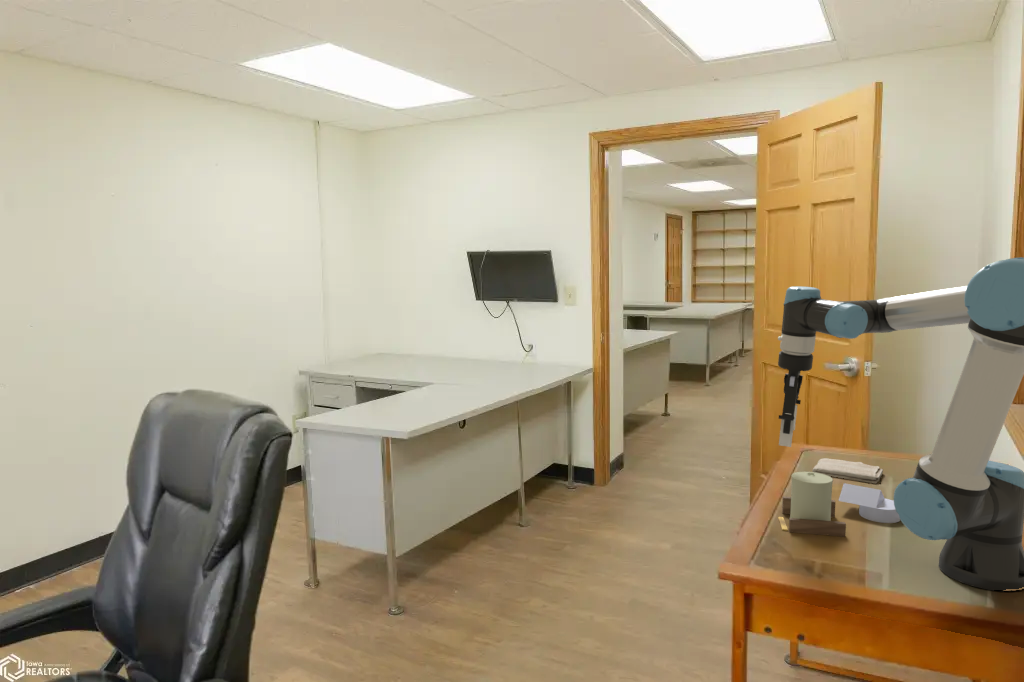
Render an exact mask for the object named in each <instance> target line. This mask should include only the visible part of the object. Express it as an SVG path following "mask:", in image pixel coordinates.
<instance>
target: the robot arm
mask: <svg viewBox="0 0 1024 682" xmlns="http://www.w3.org/2000/svg"><path fill="white" fill-rule="evenodd" d="M781 322H782V324H781V336H778V337H777V340H778V341H780V344H779V349H780V350H781V351H779V352H778V358H777V359H778V361H777V365H778V367H779V368H780V369H784V370H787V371H788V373H785V374H784V378H783V383H784V385H783V394H784V398H783V407H782V412H781V413H782V414H780V415H778V419H779V420H780V430H779V439H778V446H782V447H788V448H792V443H793V435H794V434H793V433H794V431H795V430H796V424H797V423H796V421H797V414H798V405H801V399H799V395H800V390H801V386H802V384H803V377H804V375H802V374H801V372H807V371H811V370H812V368H813V360H814V355H813V354H812V353H814V352H815V345H816V338H817V337H816V334H817V333H821V334H825V335H829V336H832V337H835V338H840V339H843V338H844V339H849V340H853V339H856V338H858V337H859V336H861V335H863V334H873V333H874V334H876V333H878V334H879V333H885V334H886V333H892V332H896V331H904V330H914V329H924V328H934V327H943V326H945V327H946V326H953V325H954V326H955V325H964V324H965V325H966V324H967V328H968V329H967V330H969V332H970V333H971V335H972V336H973V340H972V343H971V345H970V348H969V351H968V354H967V357H966V360H965V362H964V365H963V368H962V371H961V373H960V376H959V379H958V381H957V384H956V386H955V389H954V392H953V395H952V398H951V401H950V403H949V404H948V405H949V406H948V408H947V411H946V414H945V416H944V419H943V422H942V425H941V427H940V430H939V432H938V433H939V434H938V435H937V438H936V442H935V443H934V446H933V449H932V453H929V454H926V455H922V456H921V457H920V459H919V460H918V463H917V466H916V468H915V470H914V474H913V476H912V477H910V478H909V477H908V478H906V479H905V478H904V480H902V481H901V482H900V483H898V485H897V486H896V488H895V489H894V492H893V501H894V506H895V509H896V512H897V513H898V514H899V518H900V521H901V524H903V526H905V527H906V528H907V530H909V531H910V533H912V534H914V535H915V536H917V537H918V538H921V539H925V540H927V541H928V540H929V541H940V540H942V541H944V540H946V541H945V542H944V545H943V547H942V548H941V551H940V552H939V557H938V568H939V570H941V572H942V573H943V574H945V575H946V576H948V578H951V579H953V580H955V581H957V582H959V583H962V584H965V585H968V586H970V587H971V586H972V587H974V588H978V589H979V588H980V589H983V590H988V591H994V590H1006V589H1019V588H1022V587H1024V546H1023V533H1024V531H1023V530H1024V470H1022V469H1020V468H1018V467H1015V466H1013V465H1010V464H1006V463H1003V462H1000V461H999V462H998V461H993V460H990V458H991V457H992V453H993V451H994V448H995V446H996V445H997V444H996V443H997V442H998V438H999V436H1000V434H1001V432H1002V429H1003V426H1004V423H1005V421H1006V419H1007V417H1008V414H1009V412H1010V408H1011V407H1012V404H1013V402H1014V399H1015V397H1016V395H1017V392H1018V390H1019V387H1020V385H1021V382H1022V380H1023V377H1024V257H1022V256H1020V257H1011V258H1007V259H1001V260H997V261H994V262H991V263H988V264H987V265H985V266H983V267H982V268H981V269H979V270H978V271H977V272H976V273H975V274H974V275H973V276H972V277H971V279H970V281H969V282H968V284H967V285H963V286H955V287H948V288H944V289H943V288H941V289H937V290H929V291H924V292H917V293H913V294H906V295H905V294H904V295H899V296H893V297H892V296H890V297H883V298H878V299H867V300H843V301H842V300H840V301H839V300H831V299H830V300H829V299H824V298H822V297H821V290H820V289H819V288H817V287H813V286H812V287H811V286H801V285H800V286H789V287H788V288H787V289H786V291H785V297H784V302H783V314H782V321H781Z"/></svg>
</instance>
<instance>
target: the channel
mask: <svg viewBox="0 0 1024 682" xmlns="http://www.w3.org/2000/svg"><path fill="white" fill-rule="evenodd" d="M781 507H782V510H781V512H782V514H784V515H785V514H786V515H788V514H789V515H790V513H791V496H782V506H781ZM835 517H836V500H835V499H831V518H835ZM777 519H778V521H779V525H780V528H781V531H786V532H789V533H797V534H798V533H799V534H808V535H809V534H810V535H820V536H822V535H823V536H833V537H844V538H845V537H846V533H847V532H846V529H847V524H846V522H845V521H834V520H831V521H824V520H811V519H798V518H790V517H788V526H787V524H786V521H785V518H784V517H783V516H778V517H777Z"/></svg>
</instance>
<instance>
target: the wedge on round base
mask: <svg viewBox="0 0 1024 682" xmlns="http://www.w3.org/2000/svg"><path fill="white" fill-rule="evenodd" d="M838 497H839V498H838V502H842V503H848V504H853V505H858V506H859V510H858V513H859V516H861V517H862V518H864V519H866V520H868V521H871V522H877V523H883V524H893V523H898V522H900V521H901V520H900V518H899V514H898V513H897V512H896V509H895V506H894V499H889V498H885V496H884V494H883V492H882V490H881V489H878V488H873V487H867V486H862V485H858V484H850V483H847V482H846V483H844V482H843V485H842V488H841V491H840V495H839V496H838Z"/></svg>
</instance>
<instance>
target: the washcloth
mask: <svg viewBox="0 0 1024 682" xmlns="http://www.w3.org/2000/svg"><path fill="white" fill-rule="evenodd" d="M811 472H816V473H821V474H825V475H827V476H830V477H831V476H832V477H831V478H836V477H838V479H843V478H844V479H846V480H850V481H857V482H863V483H869V484H877V483H878V482H879V481H880V480H881V479H880V478H881V477H882V475H883V472H884V469H882V468H880V466H878V465H869V464H866V463H863V462H862V461H848V460H844V459H843V460H842V459H833V458H828V457H826V458H825V457H824V458H820V459H819V460H818V461H817V464H815V465H814V467H813V468H812V470H811Z"/></svg>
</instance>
